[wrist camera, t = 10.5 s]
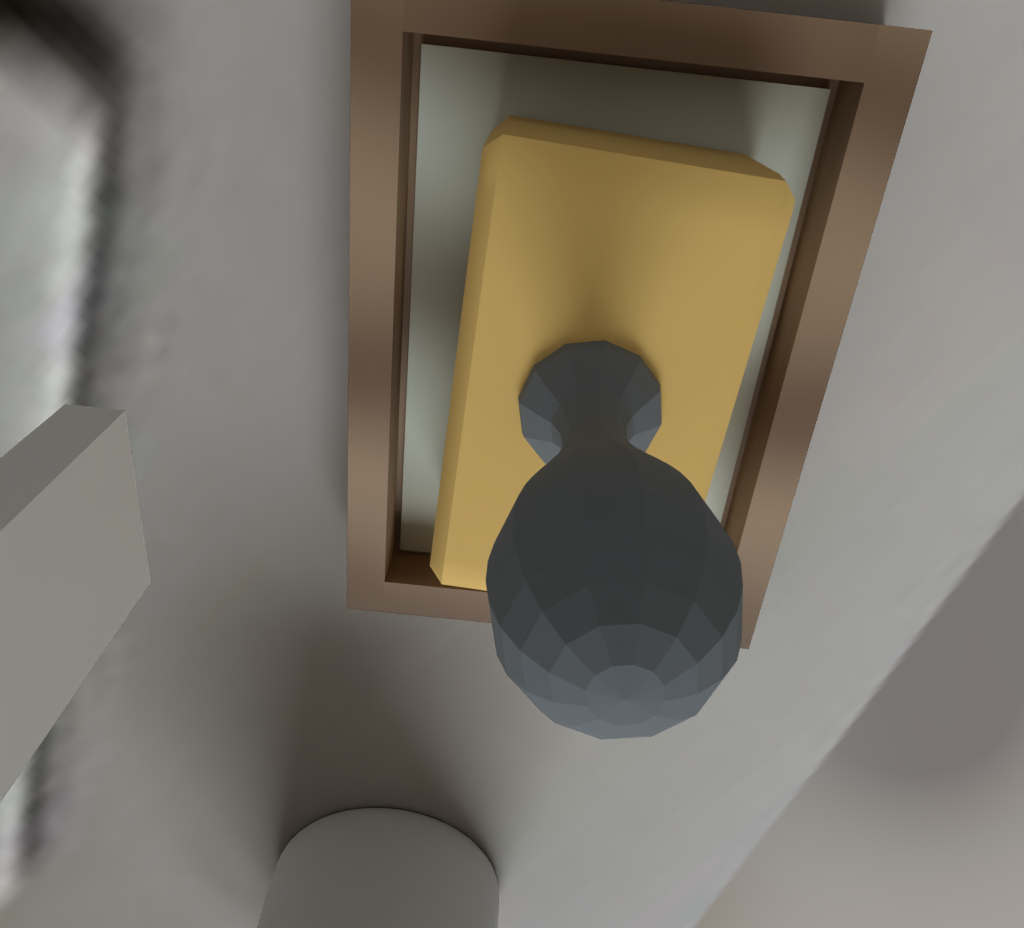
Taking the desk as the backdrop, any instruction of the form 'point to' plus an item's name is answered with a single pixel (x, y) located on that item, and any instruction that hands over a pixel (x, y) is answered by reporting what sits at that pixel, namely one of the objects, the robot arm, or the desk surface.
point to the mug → (381, 875)
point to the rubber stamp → (604, 414)
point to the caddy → (615, 108)
